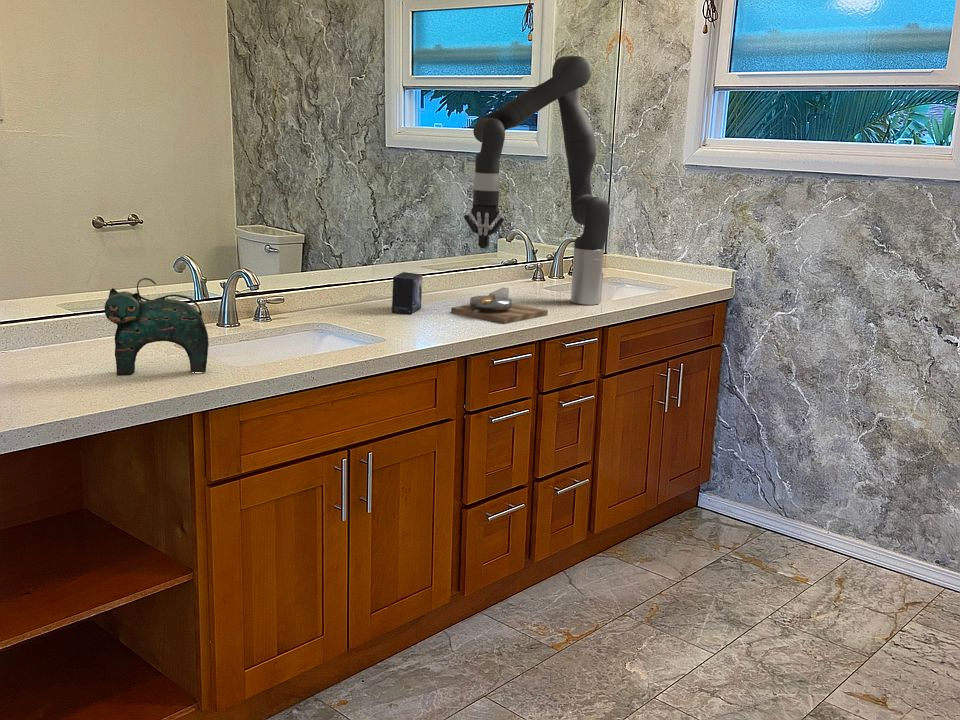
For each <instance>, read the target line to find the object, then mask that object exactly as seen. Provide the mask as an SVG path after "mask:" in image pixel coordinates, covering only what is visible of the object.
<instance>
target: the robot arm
mask: <svg viewBox="0 0 960 720" xmlns="http://www.w3.org/2000/svg"><path fill="white" fill-rule="evenodd" d="M592 69H593V68H592V65H591V63H590V61H589V60H588V59H587V58H585V57H584V56H579V55H563V56H561V57H558V58H557V59H556V60H555V61H554V64H553V65H552V70H551V74H552V75H551V77H550V78H549V79H547V80H546V81H544V82H542V83H540V84H538V85H536V86H534V87H532V88H529V89H527V90H526V91H523V92H522V93H520V94H518V95H516V96H515V97H514V98H512V99H511V100H509V101H508V102H506V103H505V104H504V105H502V106H501V107H500V108H498V109H496V110H494V111H491V112H490V113H487V114H486V115H484V116H483V117H481V118H480V119H479V120H478V121H476V123H475V124H474V126H473V136H474V138H475V139H476V141H478V142H480V143H481V146H480V147H481V148H480V152H478V153H477V154H476V156H475V163H474V164H475V166H474V167H475V168H474V172H475V173H474V177H473V190H472V192H473V194H472V208H471V209H470V212H469V213H468V214H464V216H463V219H464V221H465V222H466V223H467V225H468V227H469V228H470V230H471V231H472V232H473V233H475V234H476V235H478V243H477V244H478V246H479V248H480V249H487V248H488V247H489V245H490V236H491V235H494V234H496V233H497V232H498V231H499V229H500V228H501V227H502V226H503V224H504V223H506V221H507V218H506V217H504V216H503V215H502V214H500V209H499V201H500V199H499V198H500V189H501V188H500V187H501V186H500V167H501V166H500V161H501V155H502V153H503V152H502V151H503V149H504V144H505V140H506V138H505V137H506V131H507V130H509V129H513V128H516V127H517V126H520V125H521V124H522V123H524V122H526V120H528V119H529V118H531V117H532V116H533V115H535V114H536V113H538V112H539V111H541V110H542V109H544V108H545V107H547V106H548V105H550V104H552V103H553V102H554V101H556V100H557V102H558V107H559V113H560V120H561V127H562V133H563V142H564V149H565V155H566V162H567V167H568V169H567V170H568V175H569V176H568V177H569V178H568V179H569V185H570V190H569V191H570V207H571V209H570V211H571V215H572V218H573V220H574V221H575V223H577V224H578V225H581V226H583V232H582V234H581V235H580V236H578V237H576V238H575V239H574V245H573V246H574V247H573V260H572V261H573V262H572V276H571V277H572V278H571V289H570V290H571V291H570V302H571V303H572V304H573V303H574V304H576V305H577V304H578V305H588V306H590V305H599V304H600V303H601V302H602V296H603V295H602V293H603V292H602V291H603V282H604V281H603V280H604V272H603V266H604V250H605V249H604V248H605V243H606V242H607V238H608V235H609V227H610V226H609V225H610V218H611V209H610V205H609V203H608V201H607V200H606V199H605V198H604V197H599V196H593V191H592V186H591V175H592V170H593V167H594V165H595V160H596V156H597V145H596V138H595V133H594V128H593V125H592V123H591V121H590V118H589V117H588V115H587V113H586V111H585V109H584V107H583V103H582V99H581V94H580V89H581V88H583V87H584V86H586V85H587V84H588V83H589V81H590V79H591V77H592V72H593V70H592ZM474 219H475V221H476V222H477V224H476V222H475V221H474ZM495 220H496V223H495V224H494V225H493V223H494V221H495ZM492 225H493V227H492Z"/></svg>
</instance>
